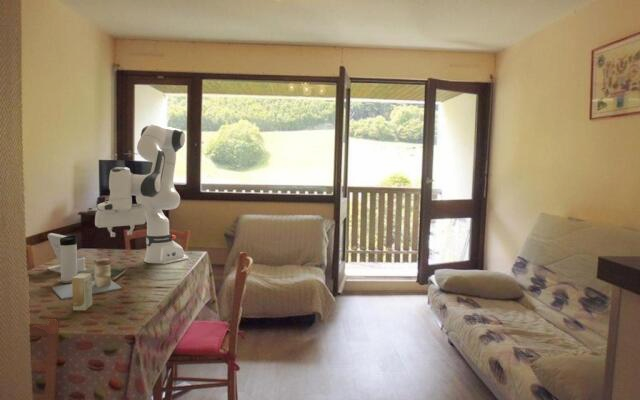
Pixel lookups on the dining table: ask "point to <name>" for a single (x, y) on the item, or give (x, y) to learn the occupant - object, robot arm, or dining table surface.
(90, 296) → the skincare box
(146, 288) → the dining table surface
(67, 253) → the travel mug
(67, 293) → the grey mat
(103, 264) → the birch block
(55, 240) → the phone holder
